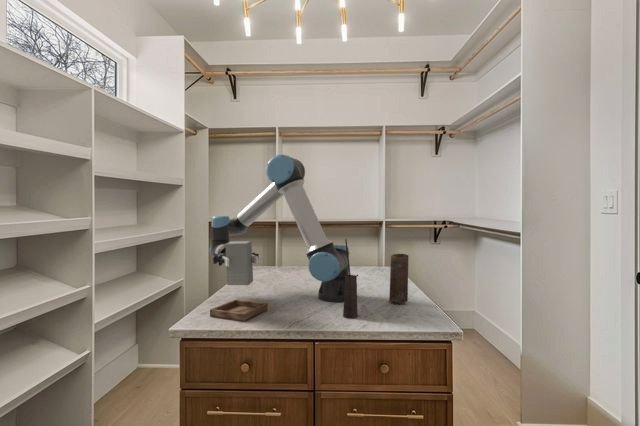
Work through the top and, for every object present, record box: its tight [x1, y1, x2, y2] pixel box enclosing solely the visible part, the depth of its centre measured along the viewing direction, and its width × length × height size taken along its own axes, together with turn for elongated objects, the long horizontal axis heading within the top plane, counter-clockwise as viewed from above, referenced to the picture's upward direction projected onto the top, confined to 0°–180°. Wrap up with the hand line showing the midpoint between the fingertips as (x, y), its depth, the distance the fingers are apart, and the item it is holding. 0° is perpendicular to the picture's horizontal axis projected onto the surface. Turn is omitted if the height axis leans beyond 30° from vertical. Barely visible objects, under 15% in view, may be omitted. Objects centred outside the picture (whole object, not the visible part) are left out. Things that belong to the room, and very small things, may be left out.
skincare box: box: [225, 240, 254, 286], centre depth 130 cm, size 8×7×16 cm
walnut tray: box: [209, 299, 269, 323], centre depth 130 cm, size 15×15×2 cm
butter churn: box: [342, 238, 359, 319], centre depth 126 cm, size 9×10×28 cm
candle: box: [388, 253, 410, 305], centre depth 143 cm, size 8×7×20 cm
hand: (243, 261), depth 126 cm, fingers closed on skincare box, 10 cm apart
